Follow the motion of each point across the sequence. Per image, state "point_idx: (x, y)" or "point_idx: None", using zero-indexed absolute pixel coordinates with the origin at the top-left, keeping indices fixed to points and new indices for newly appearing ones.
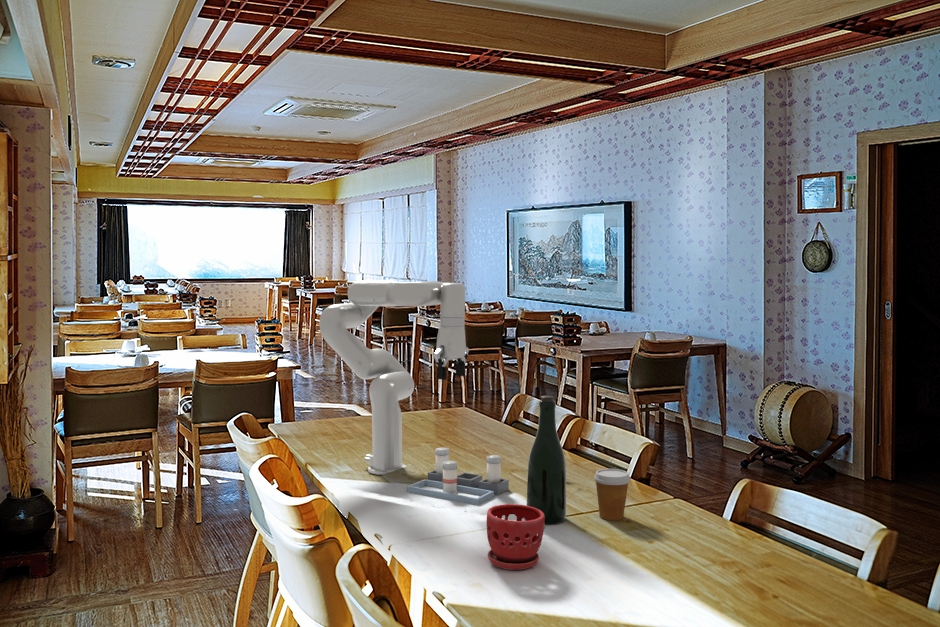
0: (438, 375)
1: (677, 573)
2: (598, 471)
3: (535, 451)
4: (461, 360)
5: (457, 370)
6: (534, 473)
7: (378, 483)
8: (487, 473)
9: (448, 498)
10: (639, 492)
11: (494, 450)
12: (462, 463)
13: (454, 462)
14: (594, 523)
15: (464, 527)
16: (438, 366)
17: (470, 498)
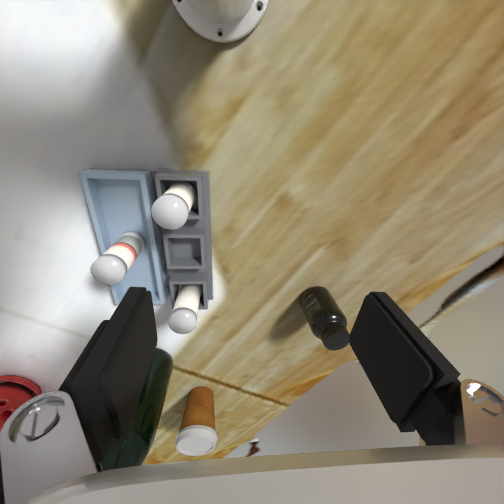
0: (102, 325)
1: None
2: (194, 436)
3: None
4: (447, 444)
5: (380, 332)
6: None
7: (112, 40)
8: (176, 299)
9: None
10: (296, 384)
11: (483, 138)
12: (356, 133)
13: (114, 278)
14: (172, 391)
15: (52, 314)
16: (49, 407)
17: (113, 294)
